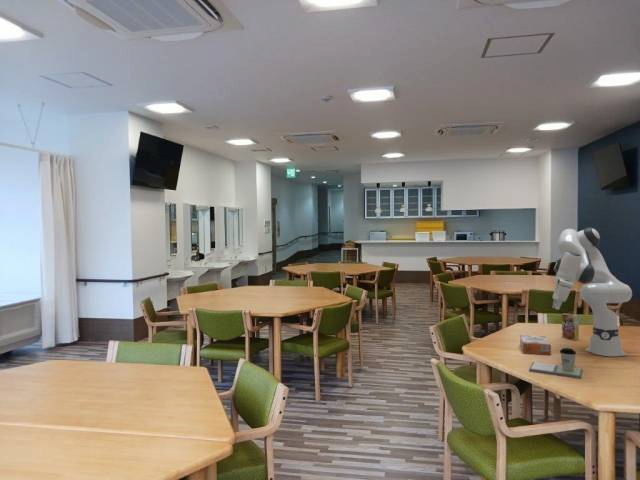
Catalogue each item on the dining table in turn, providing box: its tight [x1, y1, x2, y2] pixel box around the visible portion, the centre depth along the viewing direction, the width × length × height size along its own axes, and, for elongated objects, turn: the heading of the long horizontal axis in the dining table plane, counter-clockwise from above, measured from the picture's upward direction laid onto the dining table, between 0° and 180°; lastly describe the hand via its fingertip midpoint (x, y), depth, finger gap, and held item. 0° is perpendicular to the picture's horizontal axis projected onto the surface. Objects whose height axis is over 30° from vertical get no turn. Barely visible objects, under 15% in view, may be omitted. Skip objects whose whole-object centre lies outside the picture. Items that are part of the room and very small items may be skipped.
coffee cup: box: [559, 347, 577, 372], centre depth 217 cm, size 7×7×10 cm
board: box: [528, 361, 584, 379], centre depth 220 cm, size 14×22×1 cm, turn 57°
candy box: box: [561, 312, 580, 341], centre depth 283 cm, size 9×4×15 cm, turn 23°
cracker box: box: [519, 334, 552, 356], centre depth 259 cm, size 14×6×21 cm
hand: (555, 308), depth 229 cm, fingers open, 8 cm apart
